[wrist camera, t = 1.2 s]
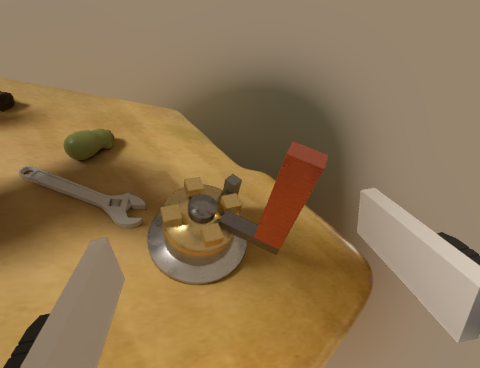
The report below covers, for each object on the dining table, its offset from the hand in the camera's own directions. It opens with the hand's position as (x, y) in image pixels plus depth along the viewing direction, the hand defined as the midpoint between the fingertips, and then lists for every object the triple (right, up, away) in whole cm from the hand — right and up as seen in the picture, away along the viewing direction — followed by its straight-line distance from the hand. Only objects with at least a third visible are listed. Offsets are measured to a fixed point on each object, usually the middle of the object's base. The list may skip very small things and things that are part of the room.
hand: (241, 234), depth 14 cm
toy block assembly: (-4, -7, +32) cm, 33 cm away
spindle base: (-7, -7, +33) cm, 35 cm away
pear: (-32, +10, +43) cm, 54 cm away
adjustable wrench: (-29, +1, +36) cm, 46 cm away
